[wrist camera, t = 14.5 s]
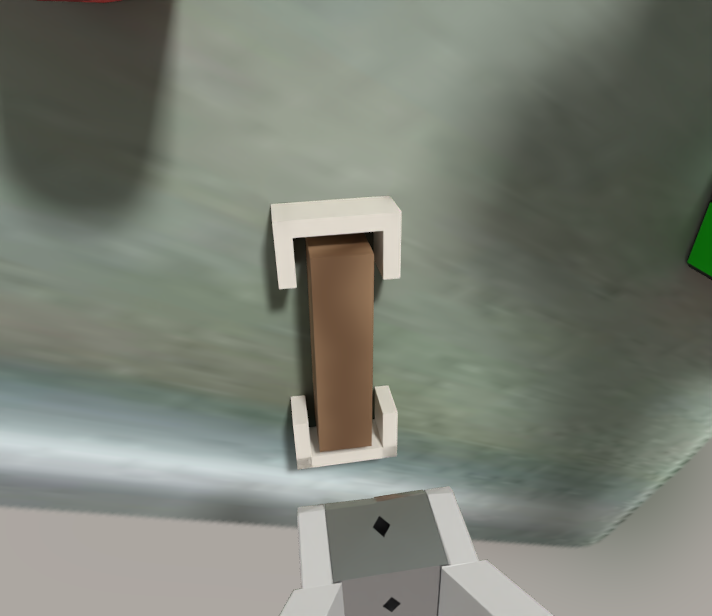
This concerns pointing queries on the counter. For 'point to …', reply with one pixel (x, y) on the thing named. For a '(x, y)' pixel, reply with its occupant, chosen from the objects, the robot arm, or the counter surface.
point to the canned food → (84, 0)
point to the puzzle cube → (703, 247)
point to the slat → (341, 338)
